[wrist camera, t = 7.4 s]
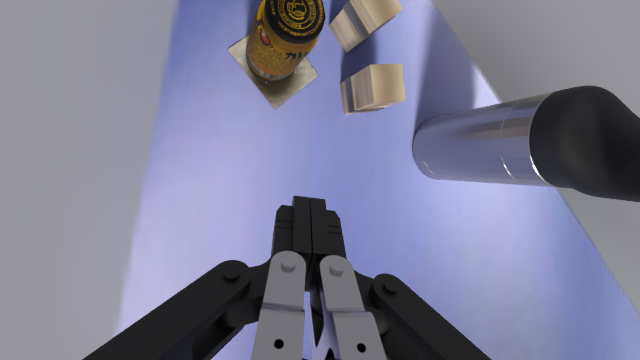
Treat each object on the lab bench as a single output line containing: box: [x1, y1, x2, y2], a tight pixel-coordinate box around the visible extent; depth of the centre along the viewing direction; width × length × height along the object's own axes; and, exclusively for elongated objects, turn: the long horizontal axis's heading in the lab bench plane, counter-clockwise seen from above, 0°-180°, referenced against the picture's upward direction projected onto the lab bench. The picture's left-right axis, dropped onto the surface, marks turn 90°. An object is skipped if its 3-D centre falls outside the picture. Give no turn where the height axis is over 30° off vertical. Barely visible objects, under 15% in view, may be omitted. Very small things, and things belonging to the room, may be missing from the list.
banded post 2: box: [340, 64, 406, 114], centre depth 37 cm, size 4×4×8 cm
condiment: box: [228, 0, 325, 109], centre depth 32 cm, size 7×8×12 cm
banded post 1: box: [329, 0, 403, 53], centre depth 36 cm, size 4×4×8 cm
